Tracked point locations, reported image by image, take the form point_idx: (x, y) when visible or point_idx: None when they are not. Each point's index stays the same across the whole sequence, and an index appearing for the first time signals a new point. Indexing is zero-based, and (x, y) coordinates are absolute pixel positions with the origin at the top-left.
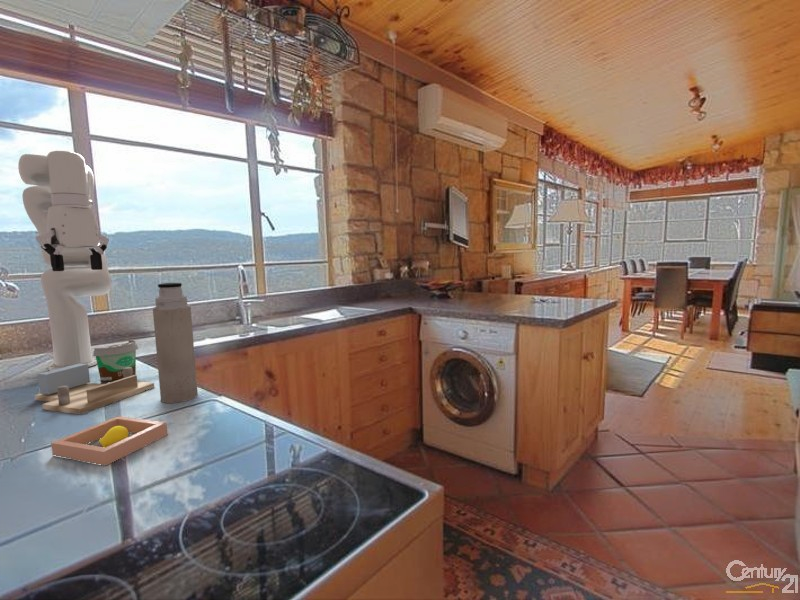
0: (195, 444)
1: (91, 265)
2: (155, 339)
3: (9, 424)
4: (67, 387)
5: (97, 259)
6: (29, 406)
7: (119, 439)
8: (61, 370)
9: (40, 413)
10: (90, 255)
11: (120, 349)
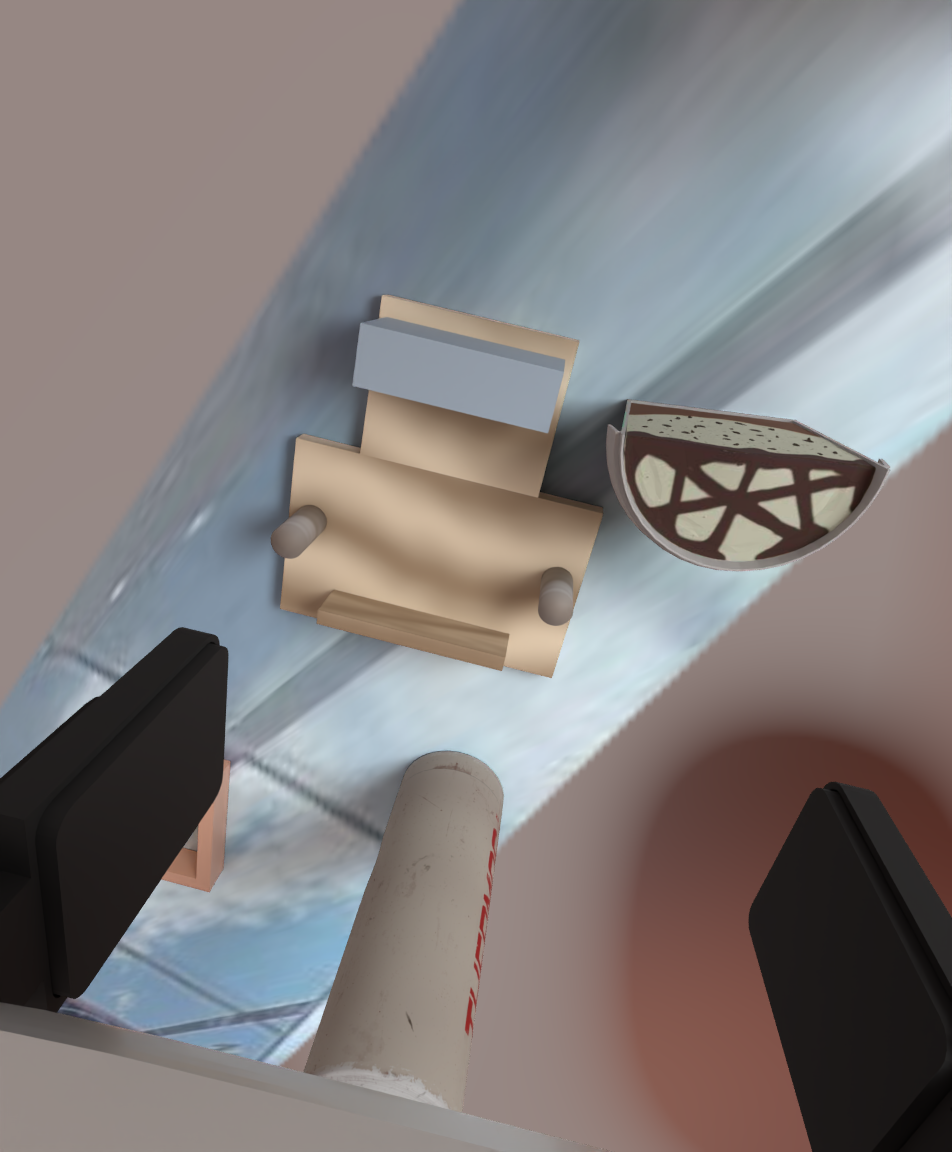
0: (200, 925)
1: (843, 842)
2: (362, 932)
3: (179, 445)
4: (294, 557)
5: (805, 1074)
6: (321, 345)
7: None
8: (425, 396)
9: (271, 461)
10: (946, 1059)
11: (663, 548)
